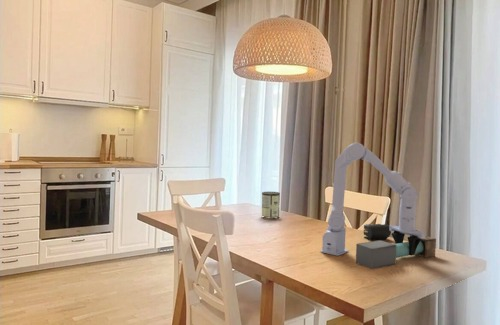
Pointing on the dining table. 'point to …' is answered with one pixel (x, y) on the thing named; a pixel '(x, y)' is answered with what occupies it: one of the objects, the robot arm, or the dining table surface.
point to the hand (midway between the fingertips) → (405, 253)
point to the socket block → (428, 247)
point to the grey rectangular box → (375, 254)
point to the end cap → (377, 231)
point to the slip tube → (407, 249)
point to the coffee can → (270, 204)
